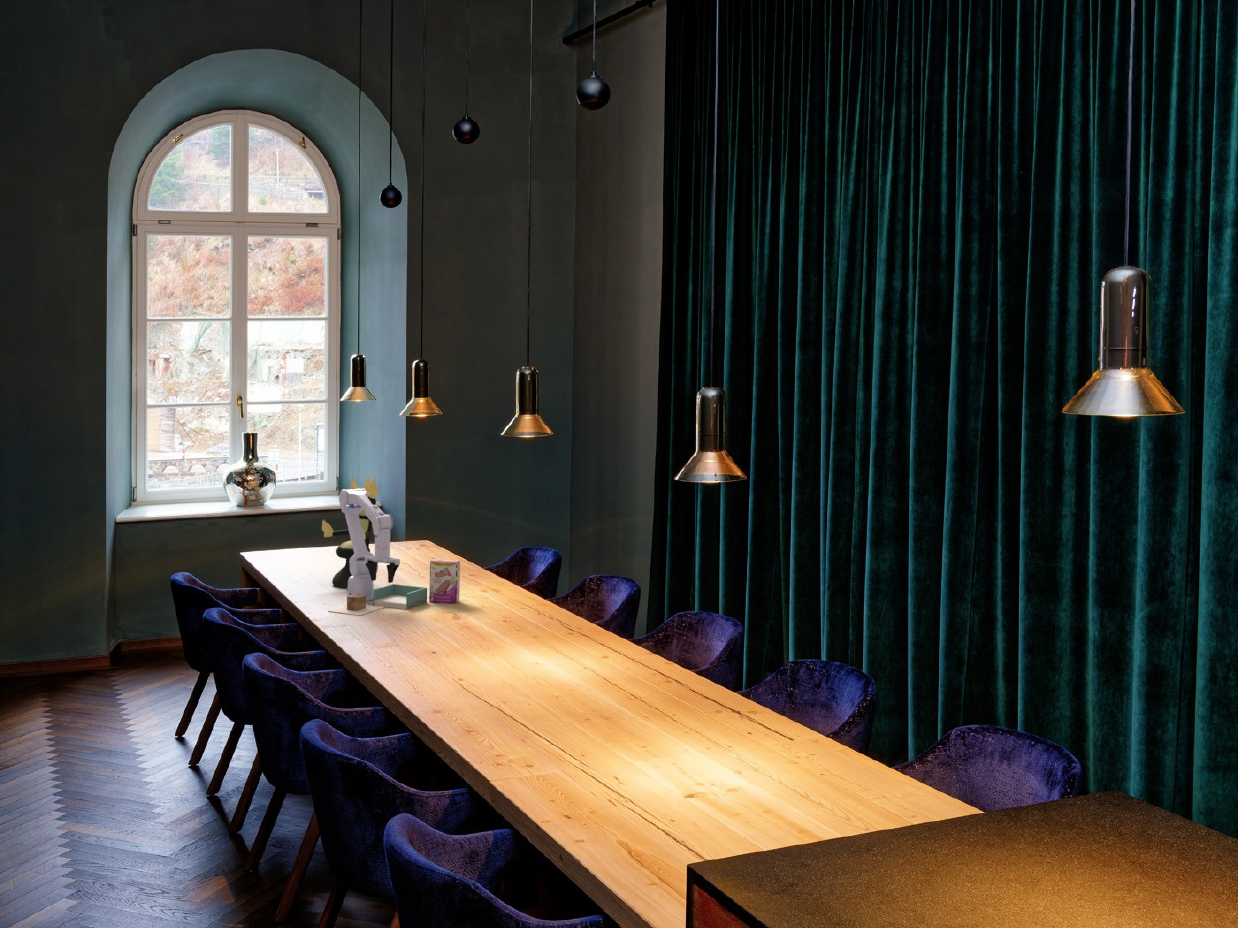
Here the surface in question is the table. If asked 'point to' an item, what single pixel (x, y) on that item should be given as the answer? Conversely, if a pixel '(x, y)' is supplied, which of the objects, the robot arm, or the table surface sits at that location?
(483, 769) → the table surface
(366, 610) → the mat
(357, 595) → the walnut block
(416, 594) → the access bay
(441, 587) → the candy bar box
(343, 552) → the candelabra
